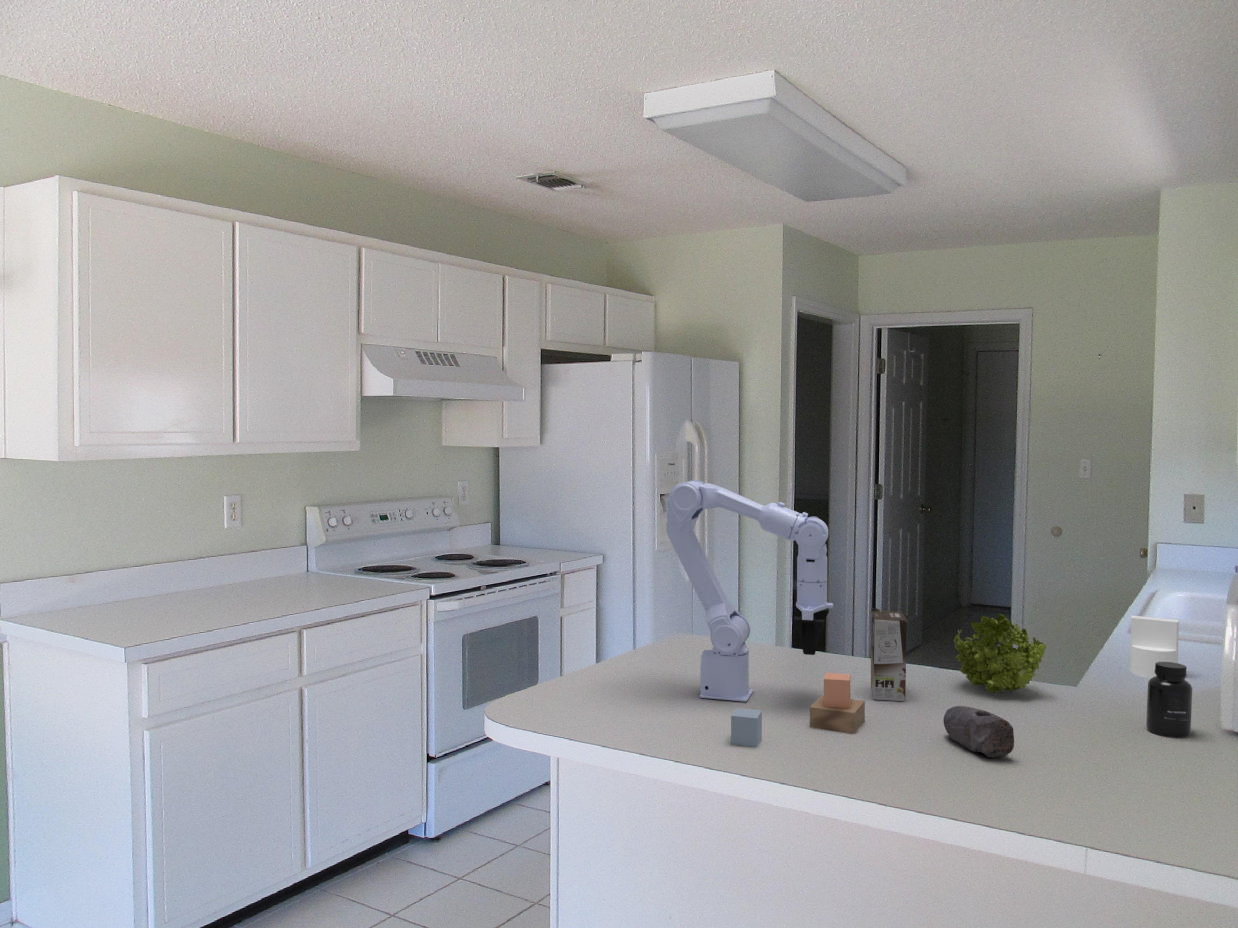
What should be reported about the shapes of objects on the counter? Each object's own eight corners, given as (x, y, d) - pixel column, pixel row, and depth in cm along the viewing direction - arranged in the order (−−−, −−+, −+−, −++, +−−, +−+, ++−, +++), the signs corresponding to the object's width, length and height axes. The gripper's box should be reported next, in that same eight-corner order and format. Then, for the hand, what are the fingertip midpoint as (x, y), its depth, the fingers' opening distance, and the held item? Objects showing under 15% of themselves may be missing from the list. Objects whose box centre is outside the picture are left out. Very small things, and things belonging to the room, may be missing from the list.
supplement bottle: (1175, 740, 163) (1177, 671, 163) (1137, 729, 169) (1139, 662, 169) (1199, 734, 167) (1201, 666, 166) (1161, 723, 173) (1163, 657, 172)
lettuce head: (1069, 669, 192) (1048, 628, 183) (1017, 724, 191) (994, 686, 181) (998, 624, 207) (976, 584, 197) (949, 675, 205) (925, 637, 196)
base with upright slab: (1178, 671, 207) (1179, 617, 207) (1176, 681, 200) (1177, 624, 199) (1131, 666, 212) (1132, 612, 212) (1128, 675, 205) (1129, 620, 204)
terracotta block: (823, 706, 171) (823, 678, 171) (825, 699, 176) (825, 672, 176) (849, 708, 170) (849, 680, 170) (850, 700, 175) (850, 673, 174)
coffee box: (906, 701, 186) (907, 620, 186) (872, 700, 188) (873, 618, 187) (902, 688, 195) (903, 610, 194) (870, 687, 197) (870, 609, 196)
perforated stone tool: (933, 735, 167) (933, 696, 166) (958, 732, 168) (959, 694, 168) (990, 765, 152) (990, 722, 152) (1017, 762, 154) (1018, 719, 153)
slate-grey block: (730, 744, 163) (731, 715, 162) (736, 736, 167) (736, 708, 167) (757, 747, 161) (757, 718, 161) (761, 738, 165) (761, 710, 165)
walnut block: (809, 728, 171) (809, 706, 171) (821, 716, 179) (821, 695, 178) (854, 735, 168) (854, 712, 168) (864, 722, 175) (864, 700, 175)
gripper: (829, 587, 177) (828, 660, 178) (836, 575, 191) (836, 642, 191) (791, 585, 179) (790, 657, 180) (800, 573, 193) (800, 640, 194)
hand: (811, 649), depth 186 cm, fingers open, 7 cm apart
